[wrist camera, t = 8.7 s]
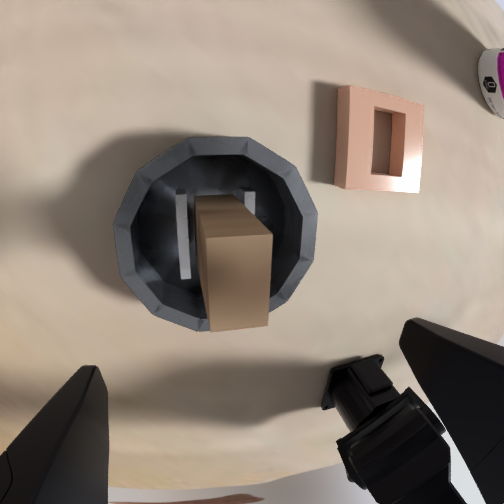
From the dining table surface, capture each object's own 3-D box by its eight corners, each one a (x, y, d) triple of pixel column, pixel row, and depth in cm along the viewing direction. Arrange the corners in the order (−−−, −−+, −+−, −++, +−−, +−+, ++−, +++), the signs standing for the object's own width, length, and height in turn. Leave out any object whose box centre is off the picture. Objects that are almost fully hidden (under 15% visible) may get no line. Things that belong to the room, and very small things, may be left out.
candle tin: (288, 292, 22) (306, 317, 19) (138, 306, 20) (133, 336, 17) (297, 139, 18) (322, 140, 15) (120, 143, 16) (107, 144, 12)
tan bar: (232, 255, 19) (267, 325, 12) (195, 257, 19) (210, 332, 12) (232, 194, 18) (272, 234, 11) (193, 195, 17) (206, 238, 10)
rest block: (405, 188, 22) (418, 192, 20) (333, 185, 20) (345, 189, 19) (410, 105, 19) (423, 105, 18) (337, 88, 17) (349, 85, 16)
